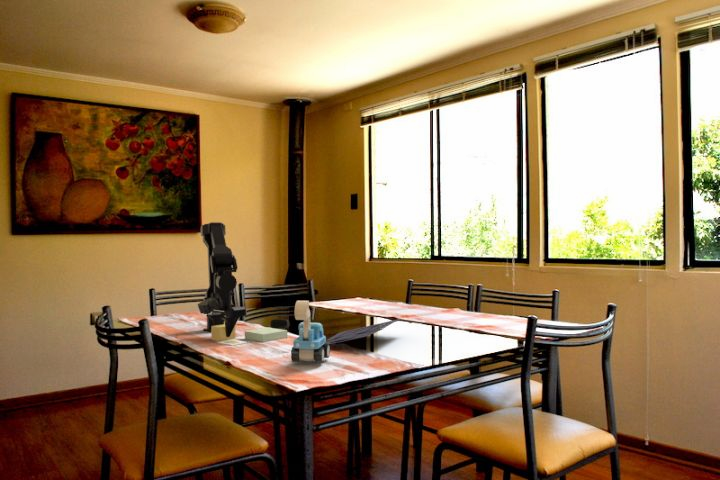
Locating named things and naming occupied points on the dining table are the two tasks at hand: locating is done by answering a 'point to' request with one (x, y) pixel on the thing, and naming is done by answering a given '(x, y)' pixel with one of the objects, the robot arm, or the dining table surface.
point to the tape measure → (279, 323)
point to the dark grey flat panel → (358, 333)
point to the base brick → (265, 334)
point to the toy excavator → (308, 337)
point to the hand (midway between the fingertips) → (223, 336)
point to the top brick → (221, 333)
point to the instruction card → (232, 342)
